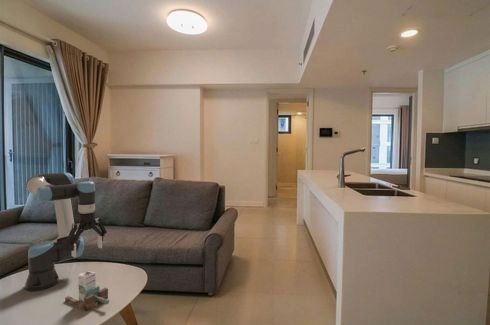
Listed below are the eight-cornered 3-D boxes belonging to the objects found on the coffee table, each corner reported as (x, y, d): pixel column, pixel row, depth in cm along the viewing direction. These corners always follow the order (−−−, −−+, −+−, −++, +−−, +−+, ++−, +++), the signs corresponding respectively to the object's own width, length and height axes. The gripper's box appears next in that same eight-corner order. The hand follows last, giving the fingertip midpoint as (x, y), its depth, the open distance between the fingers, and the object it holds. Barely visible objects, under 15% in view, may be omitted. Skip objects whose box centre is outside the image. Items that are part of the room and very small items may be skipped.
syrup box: (96, 299, 138) (96, 272, 137) (85, 305, 132) (84, 277, 132) (89, 297, 140) (89, 269, 139) (78, 302, 135) (77, 274, 134)
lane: (65, 301, 136) (64, 289, 136) (86, 291, 146) (86, 280, 146) (86, 311, 128) (86, 299, 128) (108, 299, 138) (107, 288, 137)
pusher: (84, 305, 132) (84, 291, 132) (98, 298, 138) (98, 285, 138) (101, 313, 126) (100, 298, 126) (114, 305, 132) (114, 291, 132)
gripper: (65, 218, 126) (66, 262, 128) (113, 207, 148) (113, 245, 149) (56, 216, 130) (57, 258, 131) (105, 206, 152) (105, 242, 153)
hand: (87, 251), depth 140 cm, fingers open, 13 cm apart
